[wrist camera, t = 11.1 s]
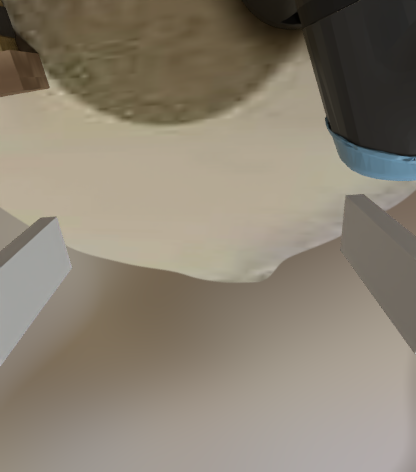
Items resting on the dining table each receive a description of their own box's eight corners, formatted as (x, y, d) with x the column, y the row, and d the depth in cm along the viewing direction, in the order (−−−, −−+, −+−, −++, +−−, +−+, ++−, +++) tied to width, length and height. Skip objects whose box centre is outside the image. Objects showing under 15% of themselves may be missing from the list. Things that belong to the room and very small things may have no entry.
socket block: (-16, 63, 41) (-54, 61, 35) (38, 53, 41) (9, 49, 35) (-3, 97, 43) (-37, 101, 37) (49, 88, 42) (23, 90, 37)
